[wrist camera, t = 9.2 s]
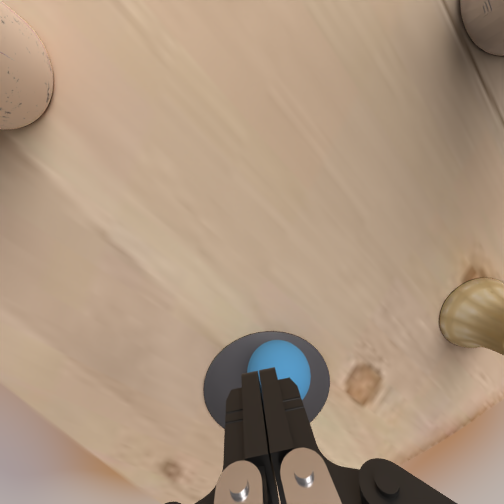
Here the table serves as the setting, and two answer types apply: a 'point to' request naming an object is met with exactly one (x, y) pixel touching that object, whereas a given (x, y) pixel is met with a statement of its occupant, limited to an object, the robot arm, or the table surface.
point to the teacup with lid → (22, 72)
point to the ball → (282, 363)
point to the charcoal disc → (236, 363)
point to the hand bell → (475, 315)
